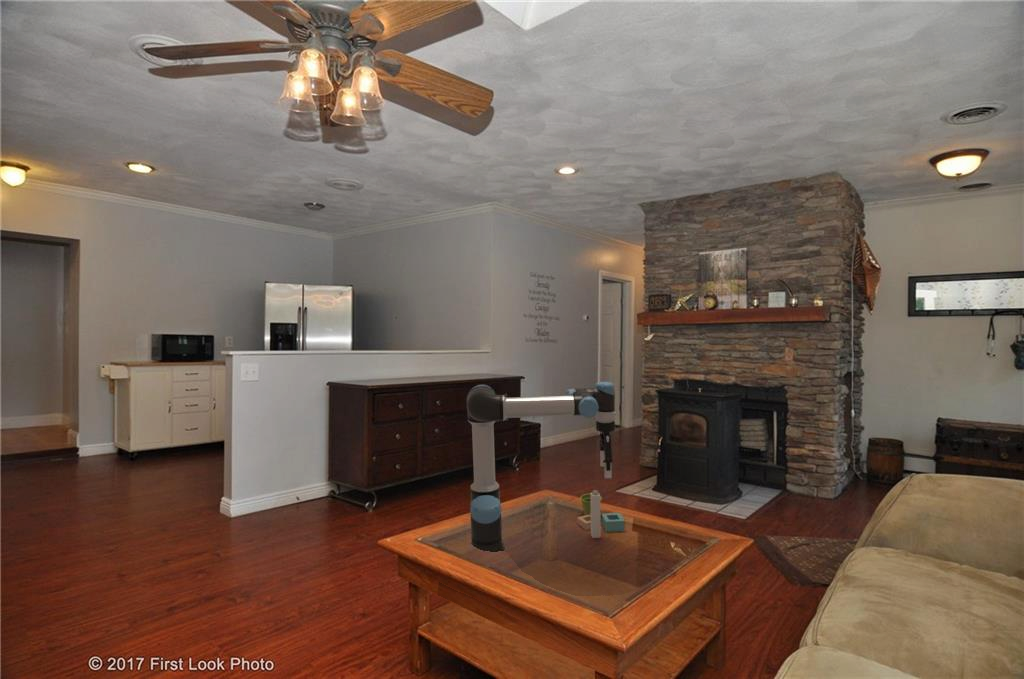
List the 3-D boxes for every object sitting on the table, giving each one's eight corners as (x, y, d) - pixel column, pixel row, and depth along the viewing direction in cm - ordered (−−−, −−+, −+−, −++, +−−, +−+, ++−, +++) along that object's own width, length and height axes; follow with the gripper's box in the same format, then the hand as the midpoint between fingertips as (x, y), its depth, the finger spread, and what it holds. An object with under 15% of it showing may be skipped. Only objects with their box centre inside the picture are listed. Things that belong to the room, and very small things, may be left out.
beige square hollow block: (585, 530, 235) (585, 523, 235) (577, 523, 242) (577, 517, 241) (599, 527, 238) (599, 520, 238) (591, 520, 244) (591, 514, 244)
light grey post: (592, 538, 228) (592, 492, 226) (590, 534, 232) (590, 488, 229) (600, 537, 228) (600, 491, 226) (598, 533, 232) (598, 488, 230)
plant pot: (603, 520, 244) (603, 501, 243) (581, 521, 244) (581, 502, 243) (600, 511, 253) (600, 493, 252) (579, 512, 254) (579, 493, 253)
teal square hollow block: (605, 532, 233) (605, 521, 233) (601, 523, 241) (601, 513, 241) (624, 531, 234) (624, 520, 233) (619, 522, 242) (619, 512, 241)
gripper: (619, 428, 211) (619, 483, 213) (610, 412, 235) (610, 461, 238) (599, 429, 211) (600, 483, 213) (592, 413, 236) (593, 461, 238)
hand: (605, 471), depth 225 cm, fingers open, 13 cm apart
